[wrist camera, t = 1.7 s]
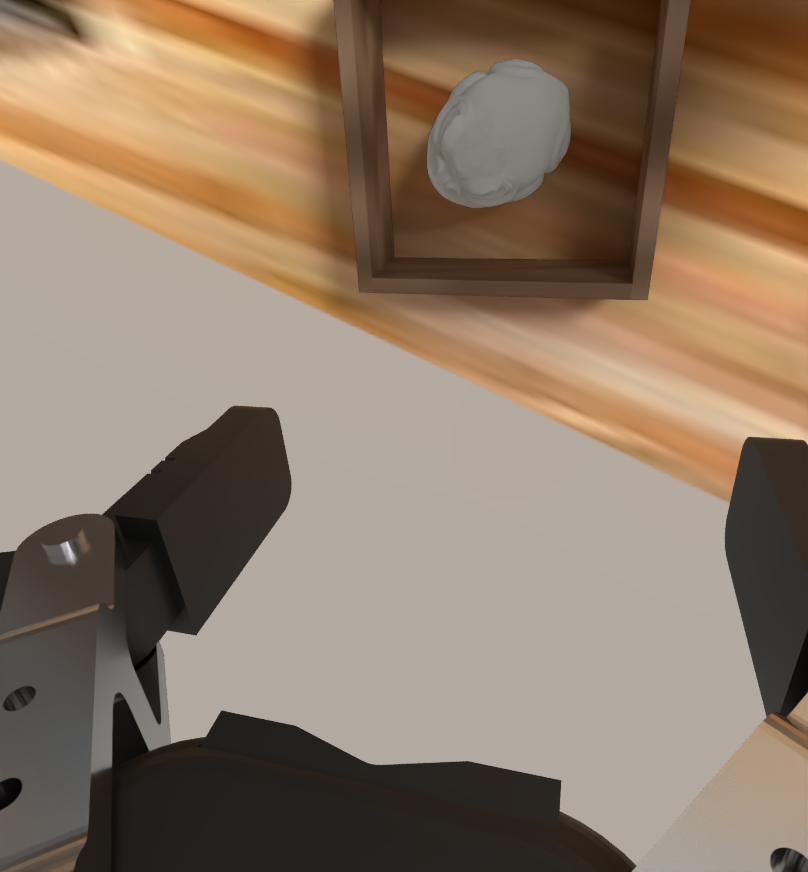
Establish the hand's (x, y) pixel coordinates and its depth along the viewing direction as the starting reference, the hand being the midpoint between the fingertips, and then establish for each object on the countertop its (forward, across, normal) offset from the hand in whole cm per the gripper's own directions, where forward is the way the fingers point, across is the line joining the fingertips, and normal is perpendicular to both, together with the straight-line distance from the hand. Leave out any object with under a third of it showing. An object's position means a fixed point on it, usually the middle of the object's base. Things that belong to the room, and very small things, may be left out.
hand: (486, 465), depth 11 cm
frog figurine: (+28, +3, -3) cm, 28 cm away
